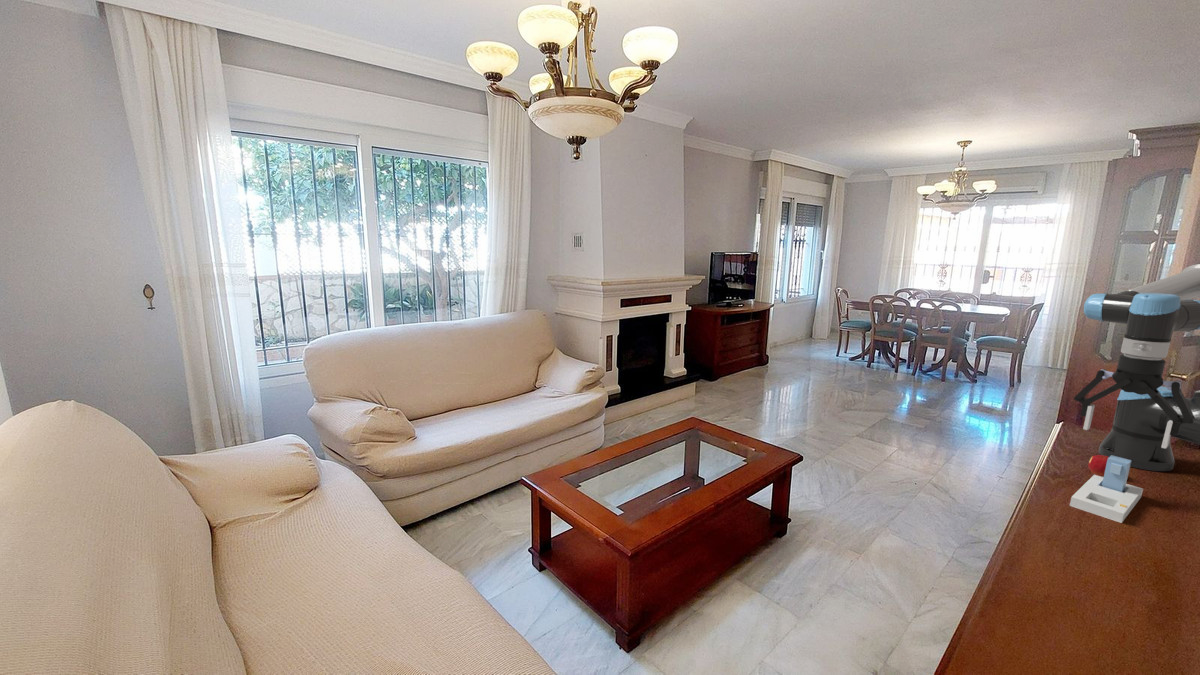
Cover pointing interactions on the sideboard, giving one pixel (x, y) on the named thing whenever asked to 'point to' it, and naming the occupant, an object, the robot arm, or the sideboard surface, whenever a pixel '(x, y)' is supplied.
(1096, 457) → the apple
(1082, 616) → the sideboard surface
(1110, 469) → the plug
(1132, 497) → the panel
